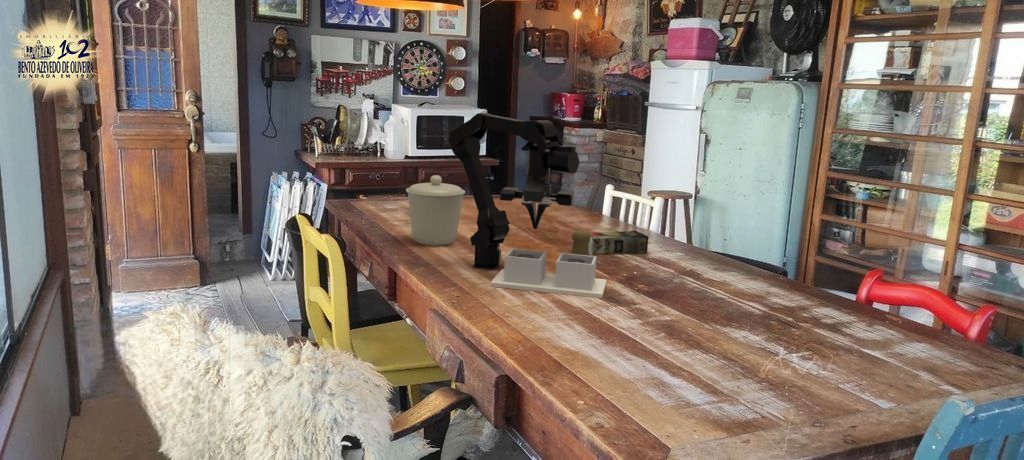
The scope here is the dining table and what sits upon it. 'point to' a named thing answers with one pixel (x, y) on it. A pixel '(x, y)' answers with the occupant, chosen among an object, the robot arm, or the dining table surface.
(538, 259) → the board
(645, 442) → the dining table surface
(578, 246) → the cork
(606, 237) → the juice carton
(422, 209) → the canister
